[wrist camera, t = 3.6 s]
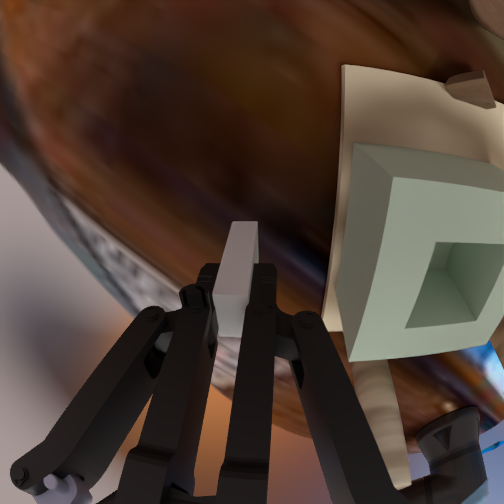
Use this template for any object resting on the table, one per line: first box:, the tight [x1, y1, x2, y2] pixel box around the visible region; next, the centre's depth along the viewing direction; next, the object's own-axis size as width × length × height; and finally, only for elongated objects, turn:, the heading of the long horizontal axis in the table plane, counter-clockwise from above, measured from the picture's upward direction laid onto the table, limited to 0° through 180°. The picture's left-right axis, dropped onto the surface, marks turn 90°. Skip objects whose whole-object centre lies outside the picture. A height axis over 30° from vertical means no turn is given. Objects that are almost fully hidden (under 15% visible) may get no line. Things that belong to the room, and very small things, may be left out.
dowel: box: [350, 359, 411, 490], centre depth 22 cm, size 4×4×16 cm
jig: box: [321, 64, 504, 369], centre depth 16 cm, size 22×21×10 cm
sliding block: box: [335, 142, 504, 362], centre depth 16 cm, size 12×12×7 cm
